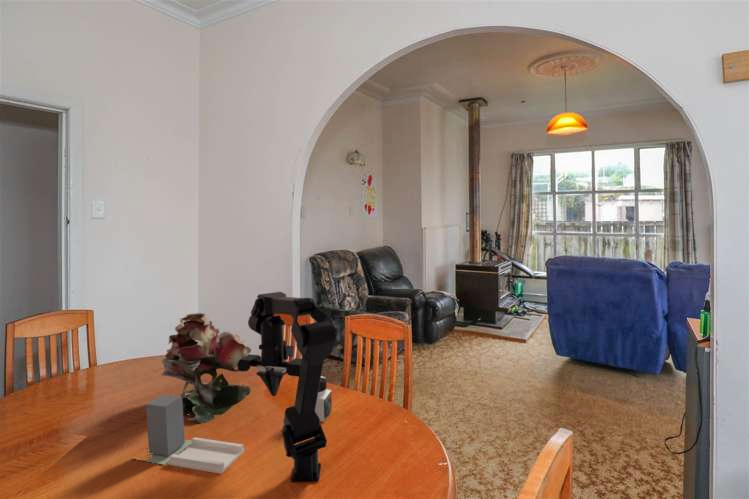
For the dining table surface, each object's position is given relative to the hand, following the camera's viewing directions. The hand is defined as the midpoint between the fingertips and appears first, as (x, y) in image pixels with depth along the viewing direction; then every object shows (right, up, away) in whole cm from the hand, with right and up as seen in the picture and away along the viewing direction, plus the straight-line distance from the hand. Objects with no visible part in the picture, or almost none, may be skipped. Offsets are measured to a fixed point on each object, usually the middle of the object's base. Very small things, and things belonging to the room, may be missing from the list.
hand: (274, 395), depth 114 cm
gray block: (-28, -14, -3) cm, 31 cm away
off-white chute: (-16, -14, -6) cm, 22 cm away
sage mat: (-29, -14, -2) cm, 32 cm away
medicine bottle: (+10, -12, +16) cm, 22 cm away
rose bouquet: (-30, -11, +28) cm, 42 cm away
